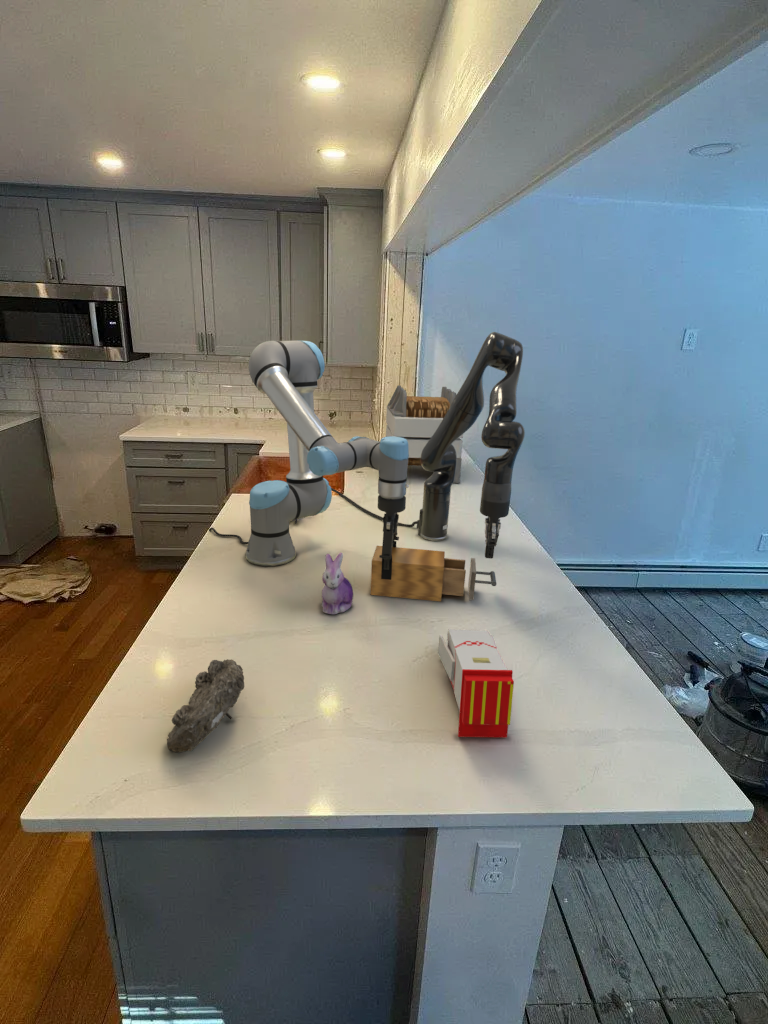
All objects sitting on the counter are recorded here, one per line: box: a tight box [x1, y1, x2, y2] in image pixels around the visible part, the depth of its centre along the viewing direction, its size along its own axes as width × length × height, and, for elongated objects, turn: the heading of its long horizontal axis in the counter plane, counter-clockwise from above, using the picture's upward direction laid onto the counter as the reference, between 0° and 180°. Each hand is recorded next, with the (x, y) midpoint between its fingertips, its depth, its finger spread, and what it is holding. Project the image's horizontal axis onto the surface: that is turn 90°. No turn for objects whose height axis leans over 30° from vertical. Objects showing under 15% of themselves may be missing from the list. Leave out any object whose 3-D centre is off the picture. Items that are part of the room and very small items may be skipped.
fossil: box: [166, 658, 245, 754], centre depth 106 cm, size 22×10×15 cm
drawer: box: [442, 557, 497, 601], centre depth 158 cm, size 24×9×8 cm, turn 83°
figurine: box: [321, 552, 354, 615], centre depth 147 cm, size 9×10×15 cm
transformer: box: [385, 384, 464, 484], centre depth 268 cm, size 34×33×41 cm
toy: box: [437, 628, 515, 738], centre depth 117 cm, size 12×13×30 cm
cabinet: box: [370, 545, 446, 602], centre depth 159 cm, size 20×10×10 cm, turn 83°
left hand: (388, 570), depth 159 cm, fingers closed on cabinet, 10 cm apart
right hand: (488, 557), depth 154 cm, fingers closed
